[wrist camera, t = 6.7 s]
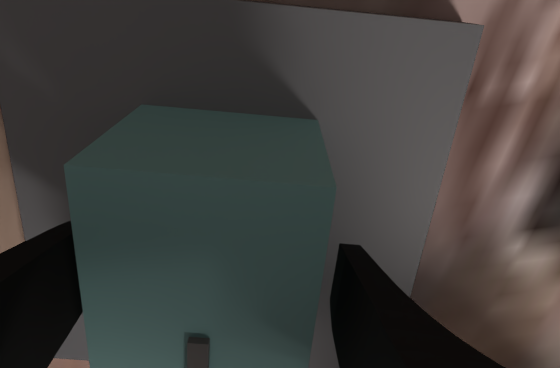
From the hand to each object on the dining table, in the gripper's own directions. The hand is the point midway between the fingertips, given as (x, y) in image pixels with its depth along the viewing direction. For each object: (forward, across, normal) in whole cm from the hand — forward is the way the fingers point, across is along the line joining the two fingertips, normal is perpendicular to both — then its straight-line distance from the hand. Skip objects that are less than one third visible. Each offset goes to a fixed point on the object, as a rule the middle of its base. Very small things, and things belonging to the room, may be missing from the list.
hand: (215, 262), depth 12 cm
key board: (+4, 0, 0) cm, 4 cm away
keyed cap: (+2, 0, 0) cm, 2 cm away
